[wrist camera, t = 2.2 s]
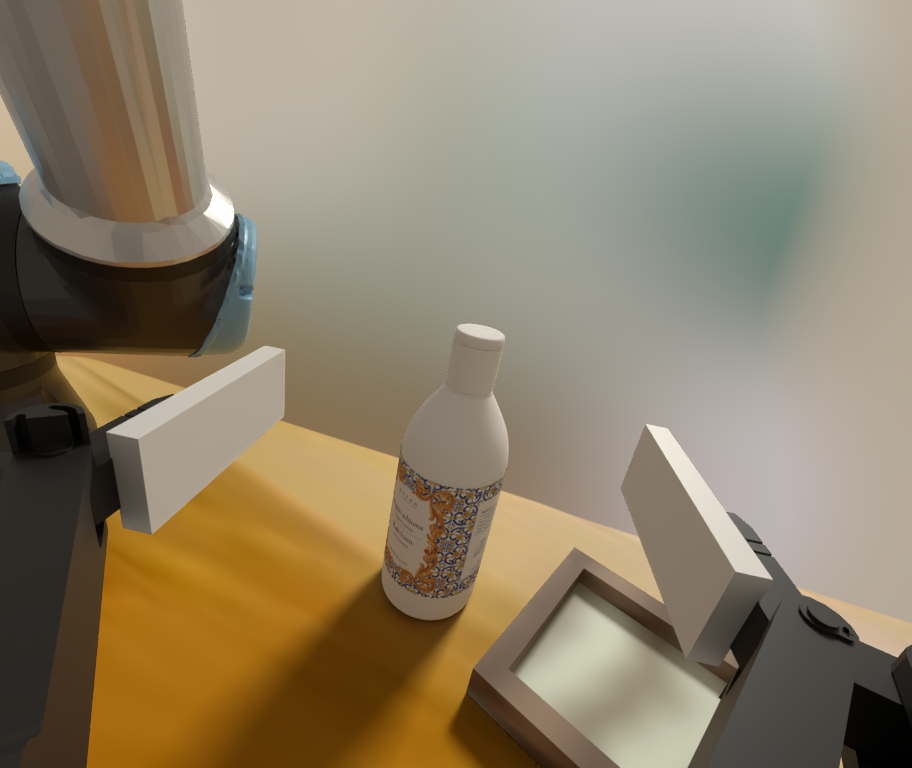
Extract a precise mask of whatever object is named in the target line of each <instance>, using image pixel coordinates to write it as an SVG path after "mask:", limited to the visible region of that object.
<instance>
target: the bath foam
mask: <svg viewBox="0 0 912 768" xmlns="http://www.w3.org/2000/svg"><path fill="white" fill-rule="evenodd" d="M504 343H505V336H504V335H503V334H502V333H501V332H500V331H498V330H496V329H493V328H490V327H487V326H483V325H476V324H461V325H459V326H457V328H456V330H455V334H454V339H453V345H452V350H451V355H450V361H449V366H448V371H447V378H446V382H445V383H444V384H443V385H442V386H441V387H440V388H439V389H438V390H437V391H436V392H435V393H433V394H432V395H431V396H430V397H429V398H428V399H427V400H426V401H425V402H424V403H423V404H422V406H421V407H420V408H419V409H418V410H417V412H416V413H415V414H414V416H413V418H412V419H411V421H410V423H409V425H408V428H407V430H406V432H405V436H404V439H403V442H402V445H401V451H400V457H399V463H398V470H397V476H396V483H395V489H394V495H393V502H392V508H391V514H390V521H389V527H388V534H387V540H386V546H385V553H384V561H383V567H382V585H383V589H384V591H385V593H386V595H387V597H388V599H389V600H390V601H391V603H392V604H393V605H394V606H395V607H396V608H398V609H399V610H400V611H402V612H403V613H405V614H407V615H409V616H411V617H414V618H417V619H422V620H440V619H444V618H447V617H450V616H452V615H453V614H455V613H457V612H458V611H459V610H461V609H462V608H463V607H464V606H465V605H466V603H467V602H468V600H469V598H470V596H471V594H472V591H473V587H474V584H475V580H476V577H477V574H478V570H479V567H480V563H481V559H482V556H483V552H484V549H485V545H486V541H487V538H488V534H489V531H490V527H491V524H492V520H493V516H494V513H495V509H496V506H497V502H498V498H499V495H500V491H501V488H502V484H503V480H504V477H505V473H506V469H507V462H508V450H509V447H508V435H507V431H506V426H505V423H504V420H503V417H502V415H501V412H500V409H499V407H498V404H497V402H496V400H495V397H494V395H493V387H494V384H495V380H496V376H497V372H498V368H499V364H500V360H501V356H502V351H503V347H504Z"/></svg>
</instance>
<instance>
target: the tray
mask: <svg viewBox="0 0 912 768" xmlns="http://www.w3.org/2000/svg"><path fill="white" fill-rule="evenodd" d="M738 667H739V665H738V663H737V661H736V659H735V657H734V655H733V653H732V651H731V649H730V650H729V652H728V653H727V655H726V657H725V658H724V660H723V661H722V663H721V665H720V666H719V667H717V666H713V665H709V664H704V663H700V662H696V661H691V660H687V659H685V656H684V654H683V651H682V648H681V646H680V643H679V640H678V638H677V635H676V633H675V630H674V627H673V625H672V622H671V619H670V617H669V614H668V612H667V609H666V606H665V605H664V604H663V603H661V602H659V601H658V600H656V599H655V598H653V597H652V596H650V595H648V594H647V593H645V592H644V591H642V590H641V589H639V588H638V587H636V586H634V585H633V584H631V583H630V582H628V581H627V580H625V579H623V578H622V577H620V576H619V575H617V574H616V573H614V572H612V571H611V570H609V569H608V568H606V567H605V566H603V565H602V564H600V563H598V562H597V561H595V560H594V559H592V558H591V557H589V556H587V555H586V554H584V553H583V552H581V551H580V550H578V549H576V548H575V547H574V549H573V550H572V551H571V552H570V553H569V555H568V556H567V557H566V558H565V559H564V561H563V562H562V563H561V564H560V565H559V567H558V568H557V569H556V570H555V571H554V573H553V574H552V575H551V576H550V577H549V579H548V580H547V581H546V582H545V583H544V584H543V586H542V587H541V588H540V589H539V590H538V592H537V593H536V594H535V595H534V596H533V598H532V599H531V600H530V601H529V602H528V604H527V605H526V606H525V607H524V608H523V610H522V611H521V612H520V613H519V614H518V616H517V617H516V618H515V619H514V620H513V622H512V623H511V624H510V625H509V626H508V627H507V629H506V630H505V631H504V632H503V633H502V635H501V636H500V637H499V638H498V639H497V641H496V642H495V643H494V644H493V645H492V647H491V648H490V649H489V650H488V651H487V653H486V654H485V655H484V656H483V657H482V659H481V660H480V661H479V662H478V663H477V664H476V666H475V667H474V668H473V671H472V674H471V678H470V681H469V684H468V688H467V691H466V693H467V694H468V695H469V696H470V697H471V698H472V699H473V700H474V701H475V702H476V703H477V704H478V705H479V706H480V707H481V708H482V709H483V710H484V711H485V712H486V713H487V714H488V715H489V716H490V717H491V718H492V719H493V720H494V721H495V722H496V723H497V724H498V725H499V726H500V727H501V728H502V729H504V730H505V731H506V732H507V733H508V734H509V735H510V736H511V737H512V738H513V739H514V740H515V741H516V742H517V743H518V744H519V745H520V746H521V747H522V748H523V749H524V750H525V751H526V752H527V753H528V754H529V755H530V756H531V757H532V758H533V759H534V760H535V761H536V762H537V763H538V764H539V765H540V766H541V767H542V768H688V766H689V764H690V761H691V759H692V757H693V755H694V753H695V751H696V749H697V747H698V745H699V743H700V741H701V739H702V737H703V735H704V733H705V731H706V729H707V727H708V725H709V723H710V721H711V719H712V717H713V715H714V713H715V710H716V708H717V706H718V704H719V702H720V700H721V699H719V698H718V697H719V696H720V694H721V693H722V691H723V690H724V688H725V687H726V685H727V684H728V682H729V680H730V679H731V677H732V676H733V674H734V673H735V671H736V670H737V668H738Z"/></svg>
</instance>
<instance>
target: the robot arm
mask: <svg viewBox="0 0 912 768" xmlns="http://www.w3.org/2000/svg"><path fill="white" fill-rule="evenodd" d="M0 95H1V97H2V99H3V101H4V103H5V105H6V108H7V110H8V112H9V114H10V116H11V118H12V120H13V122H14V124H15V127H16V129H17V131H18V133H19V135H20V137H21V139H22V141H23V143H24V146H25V148H26V150H27V152H28V154H29V156H30V158H31V160H32V162H33V164H34V166H35V168H34V169H33V170H32V171H31V172H30V173H29V174H28V175H27V177H26V178H25V180H24V181H23V183H22V185H21V187H20V186H19V184H20V183H21V178H20V177H19V176H18V175H17V174H16V172H15V170H14V169H13V167H12V166H11V165H9V164H8V163H6V162H3V161H0V768H86V767H87V756H88V745H89V734H90V723H91V711H92V700H93V689H94V678H95V667H96V656H97V645H98V634H99V623H100V612H101V601H102V590H103V579H104V568H105V557H106V546H107V535H108V528H107V523H106V519H107V518H108V517H109V516H110V515H112V514H113V513H114V512H116V511H117V510H118V509H120V514H121V520H122V525H123V528H126V529H130V530H135V531H139V532H143V533H148V534H153V533H154V532H155V531H156V530H158V529H159V528H160V527H161V526H162V525H163V524H164V523H165V522H166V521H168V520H169V519H170V518H171V517H172V516H173V515H174V514H175V513H177V512H178V511H179V510H180V509H181V508H182V507H183V506H184V505H185V504H187V503H188V502H189V501H190V500H191V499H192V498H193V497H194V496H196V495H197V494H198V493H199V492H200V491H201V490H202V489H203V488H204V487H206V486H207V485H208V484H209V483H210V482H211V481H212V480H213V479H215V478H216V477H217V476H218V475H219V474H220V473H221V472H222V471H223V470H225V469H226V468H227V467H228V466H229V465H230V464H231V463H232V462H234V461H235V460H236V459H237V458H238V457H239V456H240V455H241V454H243V453H244V452H245V451H246V450H247V449H248V448H249V447H250V446H251V445H253V444H254V443H255V442H256V441H257V440H258V439H259V438H260V437H262V436H263V435H264V434H265V433H266V432H267V431H268V430H269V429H270V428H272V427H273V426H274V425H275V424H276V423H277V422H278V421H279V420H281V419H282V418H283V417H284V405H285V403H284V401H285V350H284V349H279V348H274V347H269V346H263V347H262V348H260V349H258V350H256V351H254V352H252V353H251V354H249V355H247V356H245V357H244V358H241V359H239V360H238V361H236V362H234V363H232V364H230V365H229V366H227V367H225V368H223V369H221V370H219V371H217V372H216V373H214V374H212V375H210V376H208V377H206V378H205V379H203V380H201V381H199V382H197V383H195V384H193V385H192V386H190V387H188V388H186V389H184V390H182V391H181V392H179V393H177V394H175V395H174V394H171V395H168V396H164V397H161V398H157V399H154V400H151V401H149V402H147V403H146V404H144V405H142V406H140V407H138V408H137V410H135V409H134V410H132V411H130V412H128V413H127V414H125V416H121V417H119V418H117V419H115V420H113V421H111V422H109V423H107V424H106V425H104V426H102V427H100V428H98V429H97V424H96V421H95V419H94V417H93V415H92V414H91V412H90V411H89V409H88V408H87V407H86V405H85V404H84V403H83V401H82V400H81V398H80V397H79V396H78V394H77V393H76V391H75V390H74V389H73V387H72V386H71V385H70V383H69V382H68V380H67V379H66V378H65V376H64V375H63V373H62V372H61V371H60V369H59V367H58V365H57V361H56V356H55V352H78V353H106V354H136V355H165V356H188V357H192V358H196V357H199V356H201V355H226V354H232V353H235V352H237V351H238V350H240V349H241V348H242V347H243V346H244V344H245V342H246V339H247V336H248V331H249V325H250V319H251V311H252V301H253V293H252V290H253V289H254V279H255V270H256V253H257V229H256V225H255V223H254V222H253V221H252V220H251V219H249V218H245V217H243V216H242V215H240V214H234V207H233V204H232V200H231V198H230V195H229V193H228V192H227V190H226V189H225V188H224V186H223V185H222V184H221V183H220V182H219V181H218V180H217V179H216V178H215V177H214V176H212V175H211V174H210V173H208V172H207V171H206V170H205V166H204V158H203V151H202V144H201V137H200V129H199V122H198V115H197V107H196V100H195V93H194V85H193V78H192V70H191V64H190V56H189V48H188V41H187V34H186V26H185V19H184V12H183V4H182V0H0ZM621 491H622V493H623V496H624V498H625V501H626V503H627V506H628V509H629V511H630V514H631V517H632V519H633V522H634V525H635V527H636V530H637V533H638V535H639V538H640V540H641V543H642V546H643V548H644V551H645V554H646V556H647V559H648V562H649V564H650V567H651V569H652V572H653V575H654V577H655V580H656V583H657V585H658V588H659V590H660V593H661V596H662V598H663V601H664V604H665V606H666V609H667V612H668V614H669V617H670V619H671V622H672V625H673V627H674V630H675V633H676V635H677V638H678V640H679V643H680V646H681V648H682V651H683V654H684V656H685V659H687V660H691V661H696V662H700V663H704V664H709V665H713V666H717V667H719V666H720V665H721V663H722V661H723V660H724V658H725V657H726V655H727V653H728V652H729V650H730V649H731V651H732V653H733V655H734V657H735V659H736V661H737V663H738V665H739V667H738V668H737V670H736V671H735V673H734V674H733V676H732V677H731V679H730V680H729V682H728V684H727V685H726V687H725V688H724V690H723V691H722V693H721V694H720V696H719V697H718V698H719V699H721V700H720V702H719V704H718V706H717V708H716V710H715V713H714V715H713V717H712V719H711V721H710V723H709V725H708V727H707V729H706V731H705V733H704V735H703V737H702V739H701V741H700V743H699V745H698V747H697V749H696V751H695V753H694V755H693V757H692V759H691V761H690V764H689V766H688V768H839V765H840V759H841V757H842V763H843V768H912V645H910V646H908V647H907V648H906V649H905V650H904V651H903V652H902V653H901V654H900V656H899V657H898V658H897V657H895V656H892V655H890V654H888V653H885V652H883V651H881V650H879V649H876V648H874V647H872V646H870V645H867V644H865V643H863V642H860V641H859V637H858V635H857V634H856V632H855V631H854V630H853V628H852V627H851V625H850V624H848V623H847V622H846V621H845V620H844V619H843V618H842V617H841V616H840V615H839V614H837V613H836V612H835V611H833V610H832V609H830V608H829V607H827V606H826V605H824V604H822V603H820V602H818V601H816V600H814V599H812V598H810V597H807V596H803V595H801V593H800V592H799V590H798V589H797V588H796V586H795V585H794V584H793V582H792V581H791V580H790V578H789V577H788V576H787V574H786V573H785V572H784V571H783V569H782V568H781V566H780V565H779V564H778V562H777V561H776V560H775V558H774V557H771V553H770V552H769V550H768V549H767V548H766V546H765V545H762V541H761V540H760V538H759V537H758V535H757V534H756V533H755V532H754V530H753V529H752V528H751V527H750V526H749V525H748V524H746V523H745V522H744V521H743V520H742V519H741V518H739V517H738V516H737V515H736V514H734V513H729V512H726V511H725V510H724V509H723V507H722V506H721V504H720V503H719V501H718V500H717V499H716V497H715V496H714V494H713V493H712V492H711V490H710V489H709V487H708V486H707V484H706V483H705V481H704V480H703V478H702V477H701V476H700V474H699V473H698V472H697V470H696V469H695V467H694V466H693V464H692V463H691V461H690V460H689V459H688V457H687V456H686V454H685V453H684V451H683V450H682V449H681V447H680V446H679V444H678V443H677V441H676V440H675V438H674V437H673V436H672V434H671V433H670V431H669V430H668V429H667V428H663V427H657V426H653V425H647V424H645V427H644V429H643V432H642V434H641V437H640V440H639V442H638V445H637V447H636V450H635V452H634V455H633V458H632V460H631V463H630V465H629V468H628V471H627V473H626V476H625V478H624V481H623V483H622V486H621Z"/></svg>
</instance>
